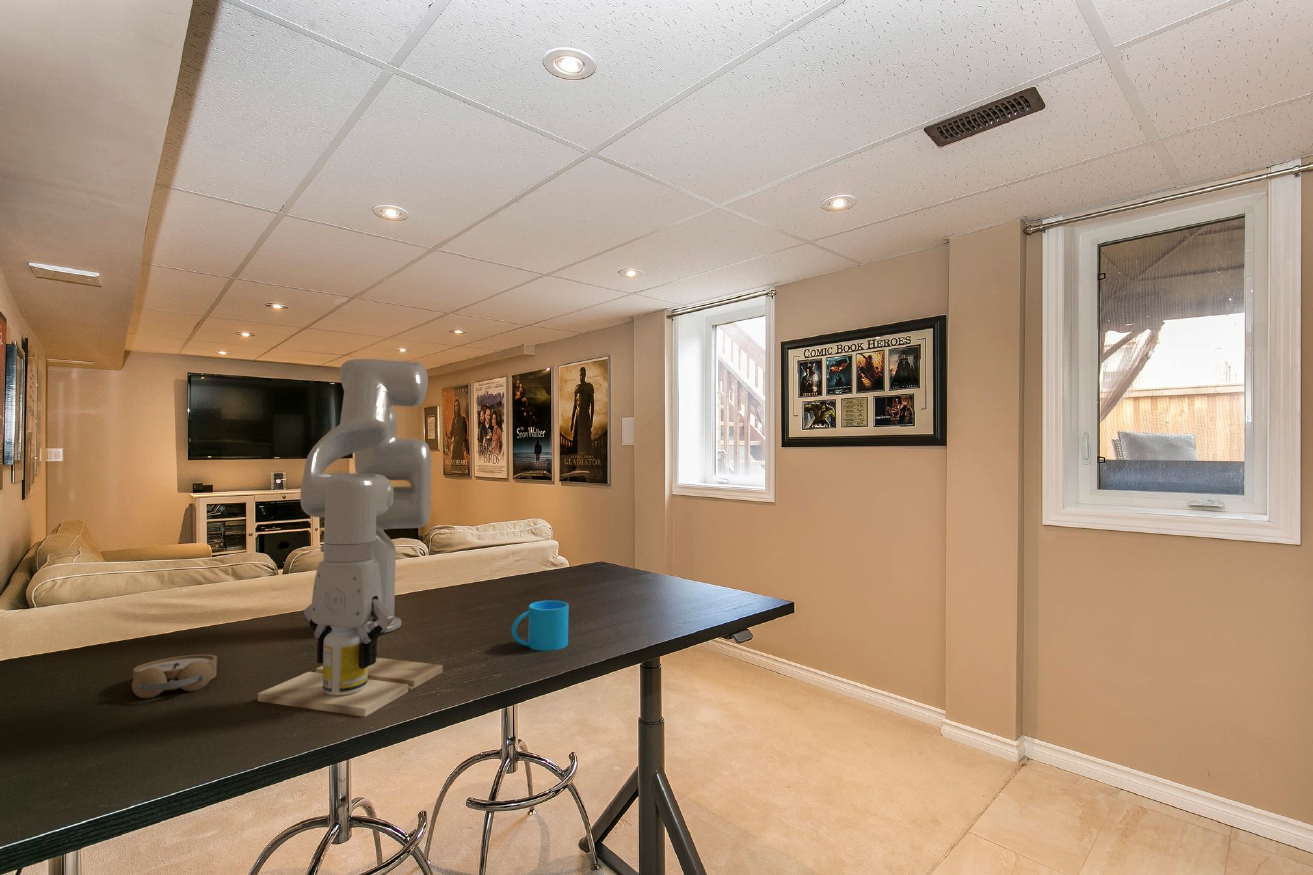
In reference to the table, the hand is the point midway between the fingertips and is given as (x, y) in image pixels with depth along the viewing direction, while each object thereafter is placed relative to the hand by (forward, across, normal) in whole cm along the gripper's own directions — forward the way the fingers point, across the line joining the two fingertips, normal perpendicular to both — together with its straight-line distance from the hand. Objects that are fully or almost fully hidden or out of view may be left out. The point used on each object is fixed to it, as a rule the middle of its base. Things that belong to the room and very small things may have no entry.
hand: (346, 662), depth 98 cm
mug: (+6, +18, +33) cm, 38 cm away
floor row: (+6, -2, +10) cm, 12 cm away
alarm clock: (+6, -30, -4) cm, 31 cm away
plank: (+6, -2, 0) cm, 6 cm away
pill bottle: (+5, 0, 0) cm, 5 cm away
